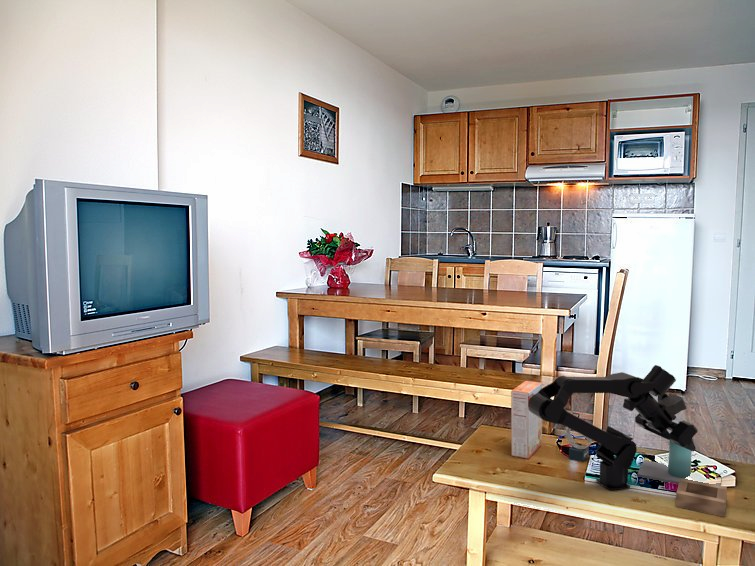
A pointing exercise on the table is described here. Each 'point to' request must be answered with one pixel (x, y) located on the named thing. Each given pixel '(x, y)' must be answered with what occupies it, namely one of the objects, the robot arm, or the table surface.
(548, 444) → the table surface
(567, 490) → the table surface
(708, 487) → the walnut frame
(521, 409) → the cracker box
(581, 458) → the watch
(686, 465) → the teal jar
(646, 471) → the gray rectangular panel
